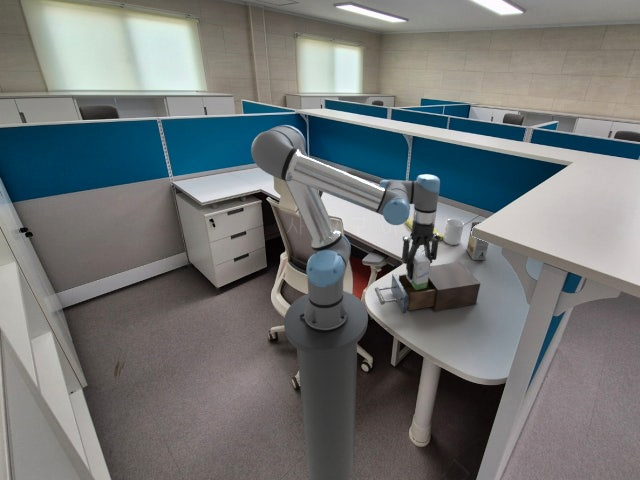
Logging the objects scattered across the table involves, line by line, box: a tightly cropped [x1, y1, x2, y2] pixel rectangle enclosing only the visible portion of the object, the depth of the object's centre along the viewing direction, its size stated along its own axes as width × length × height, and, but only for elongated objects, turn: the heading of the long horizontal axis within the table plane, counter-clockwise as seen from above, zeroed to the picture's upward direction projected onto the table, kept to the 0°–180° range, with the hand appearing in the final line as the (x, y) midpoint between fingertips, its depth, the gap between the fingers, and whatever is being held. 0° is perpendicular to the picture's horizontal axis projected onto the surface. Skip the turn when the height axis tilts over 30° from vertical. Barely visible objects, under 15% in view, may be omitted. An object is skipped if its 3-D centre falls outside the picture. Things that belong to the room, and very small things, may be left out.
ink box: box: [405, 249, 431, 290], centre depth 111 cm, size 8×5×12 cm, turn 19°
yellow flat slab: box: [405, 217, 444, 241], centre depth 169 cm, size 12×2×24 cm
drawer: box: [374, 273, 437, 314], centre depth 114 cm, size 24×13×8 cm, turn 106°
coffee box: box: [466, 221, 490, 261], centre depth 145 cm, size 9×6×16 cm
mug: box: [443, 218, 465, 246], centre depth 159 cm, size 12×9×11 cm
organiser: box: [428, 261, 481, 312], centre depth 118 cm, size 18×15×10 cm
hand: (417, 276), depth 112 cm, fingers closed on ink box, 5 cm apart
